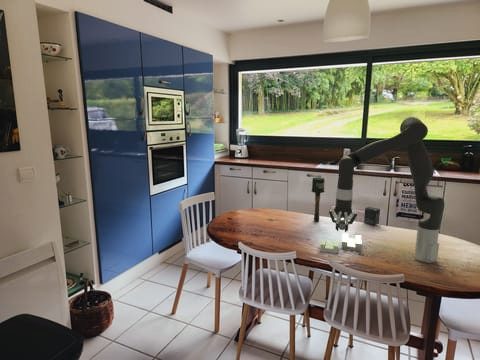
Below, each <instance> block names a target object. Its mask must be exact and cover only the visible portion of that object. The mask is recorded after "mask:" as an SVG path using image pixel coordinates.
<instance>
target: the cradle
mask: <svg viewBox="0 0 480 360" xmlns="http://www.w3.org/2000/svg"><path fill="white" fill-rule="evenodd" d="M339 242H340V241H339V240H337V239H336V240H335V239H334V241H333V242H327V238H321V241H320V249H319V251H320V252H325V253H333V254H338V253H339V246H340V245H339Z"/></svg>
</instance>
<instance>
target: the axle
mask: <svg viewBox="0 0 480 360" xmlns="http://www.w3.org/2000/svg"><path fill="white" fill-rule="evenodd" d="M345 224H346V221H345V218H340V220H339V229H338V230H341V231H343V230H344V231H345Z"/></svg>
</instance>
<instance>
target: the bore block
mask: <svg viewBox="0 0 480 360" xmlns="http://www.w3.org/2000/svg"><path fill="white" fill-rule="evenodd" d="M341 241H342V242H341V249H342V250H348V251H357V252H362V245H363V243H362V235H359V234H358V235H355V238H353V237H352V238H350V237H349V233H342V239H341Z"/></svg>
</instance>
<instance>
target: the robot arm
mask: <svg viewBox="0 0 480 360" xmlns="http://www.w3.org/2000/svg"><path fill="white" fill-rule="evenodd" d="M399 128H400V129H399V131H400V133H397V134H396V135H394V136H392V137H389V138H386V139H382V140H376V141H374V142H371V143H369V144H367V145H365V146H363V147H362V148H359V149H357V150H356V151H354V152H351V153H349V154H346V155H345V156H343V157H341V158H340V159H339V163H338V179H337V189H336V194H335V207H334V209H329V211H328V214H329V216H330V219H331V223H335V230H336V231H337V232H339V230H340V229H339V220H340V218H345V229H344V232H345V233H347V232H348V231H349V225H352V224H354V221H355V219H357V216H358V212H356V211H353V209H352V205H353V198H354V197H353V195H354V194H353V193H354V192H353V187H354V172H355V168H356V167H358V166H360V165H361V164H366V163H369V162H371V161H372V160H375V159H377V158H378V157H380V156H383V155H385V154H388V153H390V152H392V151H395V150H398V149H400V148H405V147H406V155H407V159H408V160H407V161H408V167H409V169H410V170H409V171H410V175H411V179H412V182H413V188H414V195H415V204H416V207H417V210H418V211H419V212H421V213H424V214H428V215H429V217H428V218H420V219H419V220H418V221H417V222H418V224H417V229H416V230H417V231H416V238H415V239H416V241H415V249H414V256H413V257H414V259H415V260H417V261H419V262H422V263H427V264H433V263H436V262H437V261H438V256H439V249H440V248H439V247H440V243H439V242H438V241H439V233H440V227H441V224H442V222H443V221H442V220H443V215H444V211H445V210H444V209H445V200H444V198H443V197H440V196H437V195H430V194H429V193H428V190H427V187H428V185H429V183H430V182H431V181H432V179H433V176H434V172H435V171H434V166H433V162H432V159H431V156H430V155H429V152H428V151H427V148H426V146H425V143H424V139H425V138H426V137H427V135H428V132H429V129H428V126H427V125H426V124H425V123H424V122H423V121H422V120H421V119H419V118H418V117H415V116H409V117H406V118H404V119H403V120H402V121H401V123H400V126H399ZM334 214H335V215H336V219H335V216H334ZM350 216H351V218H350V220H349V217H350Z"/></svg>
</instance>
